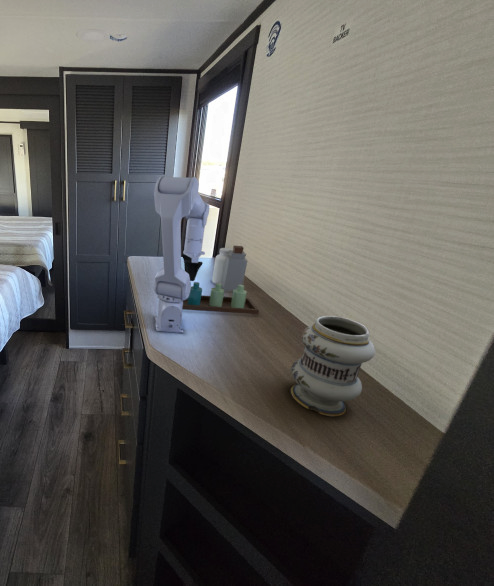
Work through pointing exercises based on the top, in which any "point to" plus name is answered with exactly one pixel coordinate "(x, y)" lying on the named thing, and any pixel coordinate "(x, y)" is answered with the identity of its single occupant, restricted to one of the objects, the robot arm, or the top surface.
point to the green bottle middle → (216, 296)
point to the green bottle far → (238, 297)
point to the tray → (204, 306)
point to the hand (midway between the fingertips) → (189, 277)
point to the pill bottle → (220, 265)
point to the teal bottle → (195, 294)
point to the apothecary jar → (331, 364)
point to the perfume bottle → (234, 268)
